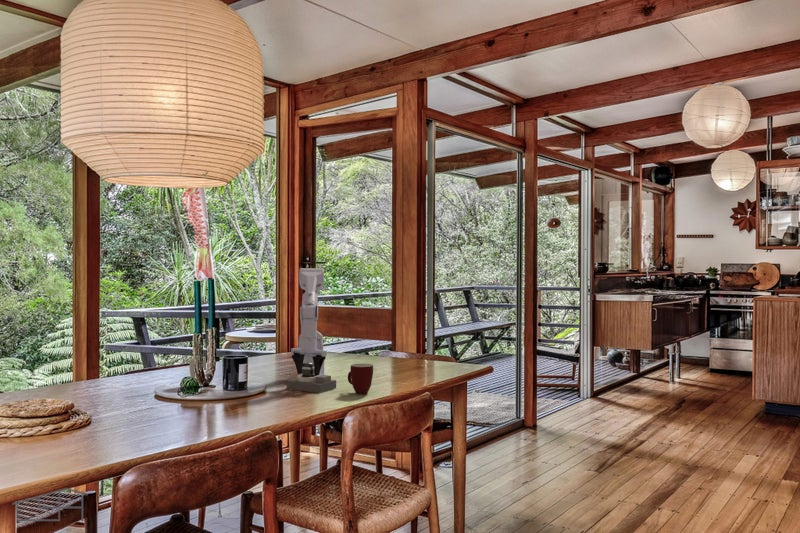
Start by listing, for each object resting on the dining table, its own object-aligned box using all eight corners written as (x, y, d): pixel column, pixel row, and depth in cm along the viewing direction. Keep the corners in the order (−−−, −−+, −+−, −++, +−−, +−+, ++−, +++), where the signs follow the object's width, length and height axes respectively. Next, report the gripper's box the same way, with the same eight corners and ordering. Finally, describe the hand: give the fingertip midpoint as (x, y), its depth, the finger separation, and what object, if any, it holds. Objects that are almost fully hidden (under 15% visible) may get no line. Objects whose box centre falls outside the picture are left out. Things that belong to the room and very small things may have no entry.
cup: (197, 388, 227) (197, 361, 227) (184, 386, 232) (184, 359, 232) (216, 385, 234) (216, 358, 234) (203, 383, 239) (203, 356, 239)
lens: (306, 378, 234) (306, 361, 234) (316, 379, 232) (316, 362, 232) (299, 380, 230) (299, 363, 230) (310, 381, 228) (310, 364, 228)
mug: (340, 393, 223) (340, 364, 223) (353, 389, 230) (353, 362, 230) (364, 396, 217) (364, 367, 217) (377, 392, 224) (377, 364, 224)
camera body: (303, 384, 238) (303, 371, 238) (336, 388, 232) (336, 374, 232) (286, 388, 230) (286, 375, 230) (320, 393, 223) (320, 378, 223)
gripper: (286, 337, 231) (285, 374, 231) (318, 339, 224) (318, 377, 224) (297, 335, 237) (297, 371, 237) (329, 338, 231) (329, 375, 231)
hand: (308, 374), depth 231 cm, fingers open, 7 cm apart
